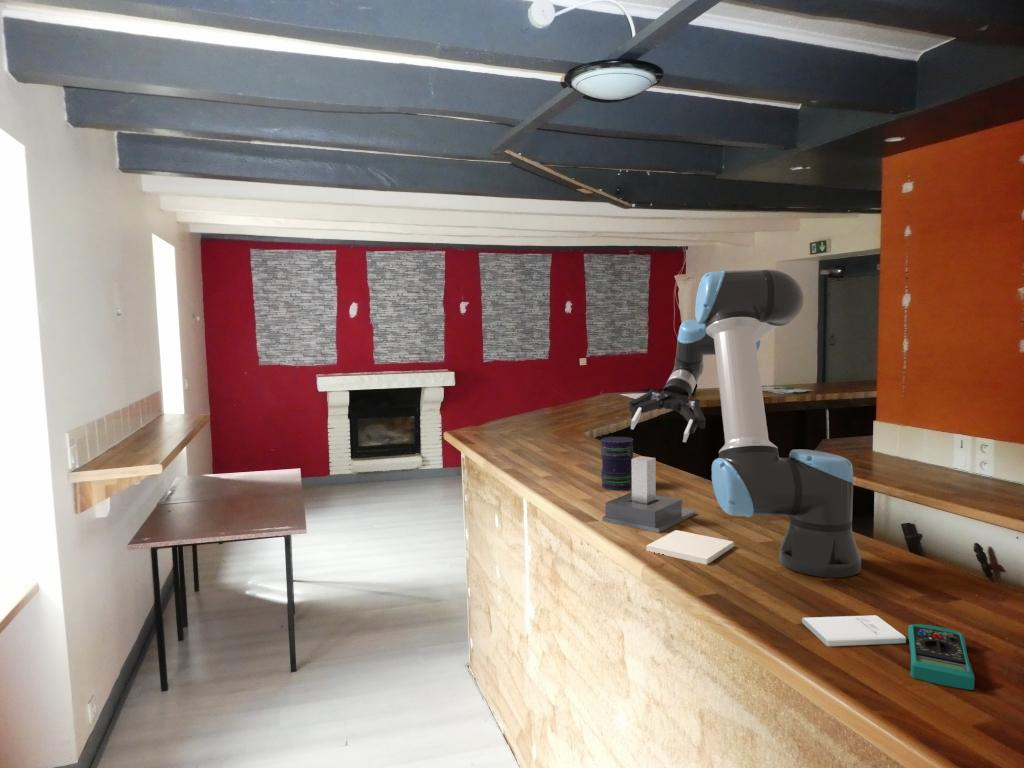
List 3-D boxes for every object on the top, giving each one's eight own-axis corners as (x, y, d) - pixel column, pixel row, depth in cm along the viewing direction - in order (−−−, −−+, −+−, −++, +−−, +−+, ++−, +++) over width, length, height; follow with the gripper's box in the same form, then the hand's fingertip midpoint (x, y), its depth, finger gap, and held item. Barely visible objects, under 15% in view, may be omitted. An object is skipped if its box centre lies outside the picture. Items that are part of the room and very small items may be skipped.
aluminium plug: (655, 515, 168) (655, 458, 167) (647, 519, 165) (646, 460, 163) (640, 512, 171) (640, 456, 170) (631, 516, 168) (631, 458, 166)
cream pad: (733, 546, 146) (733, 541, 146) (706, 564, 136) (706, 559, 136) (676, 534, 155) (676, 529, 155) (646, 550, 145) (646, 545, 145)
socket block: (695, 513, 172) (695, 495, 172) (658, 532, 157) (658, 512, 157) (641, 504, 183) (641, 486, 182) (602, 521, 168) (602, 501, 167)
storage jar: (599, 490, 200) (599, 441, 198) (602, 482, 209) (602, 436, 208) (632, 491, 197) (632, 442, 196) (634, 483, 207) (634, 436, 205)
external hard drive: (801, 626, 109) (874, 622, 109) (827, 650, 101) (906, 646, 101) (801, 616, 109) (875, 613, 109) (827, 640, 101) (906, 636, 101)
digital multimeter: (963, 647, 100) (964, 629, 100) (974, 695, 88) (975, 674, 87) (907, 637, 104) (908, 619, 104) (910, 681, 91) (911, 661, 91)
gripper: (722, 410, 181) (705, 455, 165) (634, 390, 190) (610, 431, 174) (726, 387, 177) (709, 431, 161) (636, 368, 186) (612, 408, 170)
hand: (658, 431), depth 168 cm, fingers open, 13 cm apart
